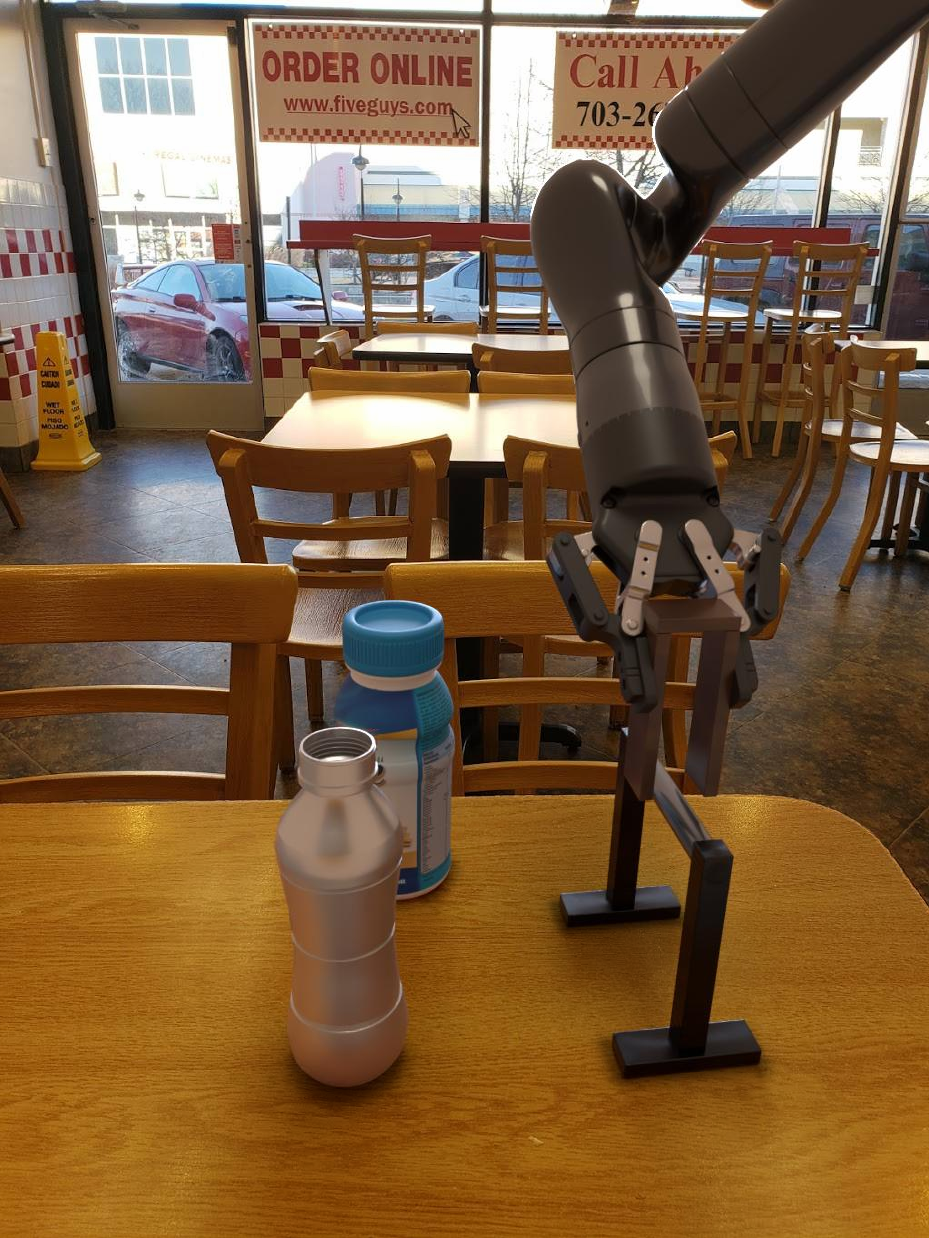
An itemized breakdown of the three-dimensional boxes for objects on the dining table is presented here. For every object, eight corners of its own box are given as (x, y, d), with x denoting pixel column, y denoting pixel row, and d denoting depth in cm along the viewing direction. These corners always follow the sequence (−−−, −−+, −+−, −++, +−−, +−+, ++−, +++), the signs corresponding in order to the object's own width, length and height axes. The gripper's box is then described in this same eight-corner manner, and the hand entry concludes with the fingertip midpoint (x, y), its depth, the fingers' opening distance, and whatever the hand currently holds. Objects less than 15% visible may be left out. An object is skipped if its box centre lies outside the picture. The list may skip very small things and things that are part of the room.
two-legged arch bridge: (697, 769, 56) (720, 597, 52) (717, 796, 53) (742, 616, 49) (623, 774, 55) (640, 599, 51) (639, 801, 53) (659, 619, 49)
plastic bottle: (424, 1083, 51) (425, 763, 44) (302, 1121, 49) (282, 789, 42) (389, 1001, 57) (385, 705, 50) (277, 1031, 55) (256, 725, 47)
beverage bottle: (472, 887, 67) (478, 628, 60) (360, 918, 64) (353, 648, 57) (425, 825, 74) (426, 588, 67) (322, 851, 71) (312, 603, 64)
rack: (668, 896, 67) (689, 720, 62) (760, 1064, 53) (796, 856, 48) (558, 905, 66) (571, 727, 61) (623, 1079, 52) (646, 867, 47)
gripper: (539, 402, 53) (581, 690, 46) (779, 402, 55) (852, 677, 48) (516, 474, 59) (550, 734, 53) (730, 472, 62) (788, 722, 55)
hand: (693, 705), depth 50 cm, fingers closed on two-legged arch bridge, 4 cm apart
